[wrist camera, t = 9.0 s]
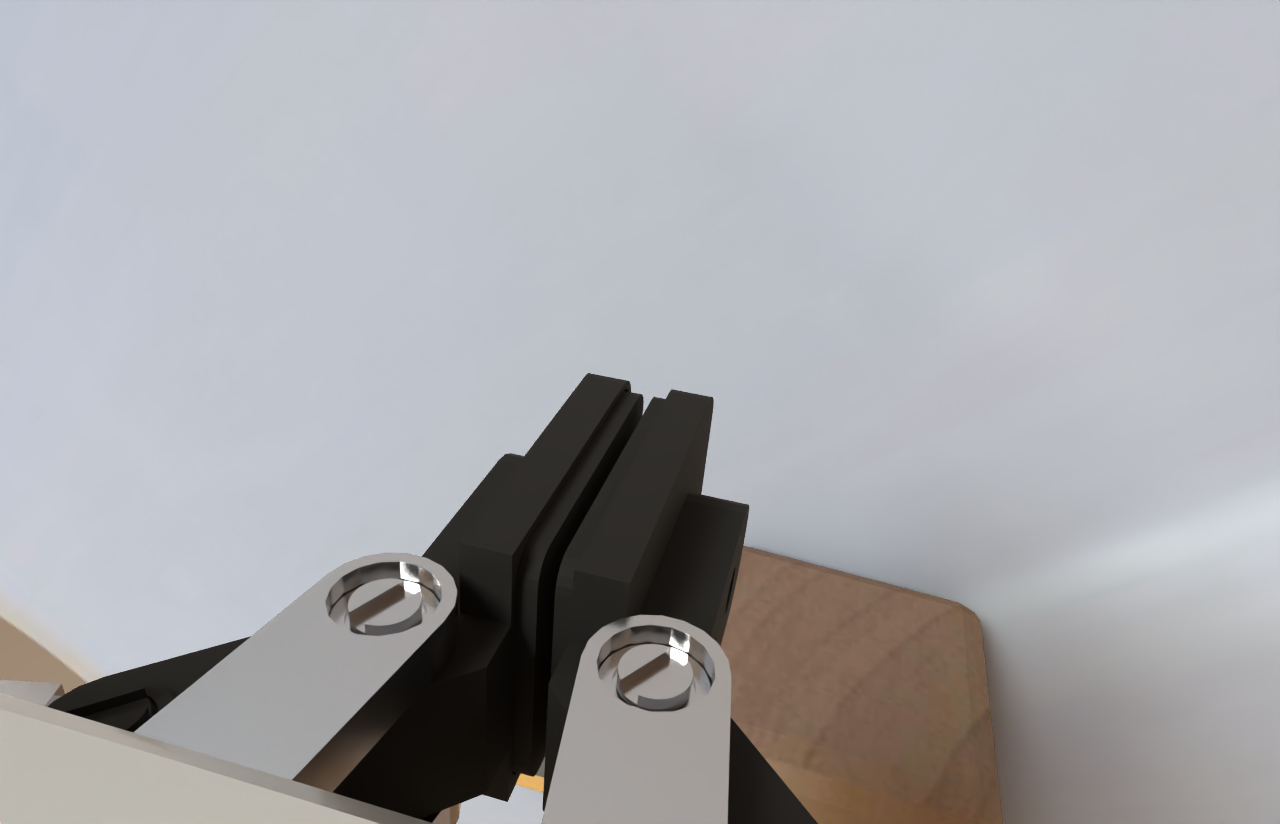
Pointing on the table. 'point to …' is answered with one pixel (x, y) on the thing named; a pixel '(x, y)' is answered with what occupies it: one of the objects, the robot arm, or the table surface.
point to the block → (862, 694)
